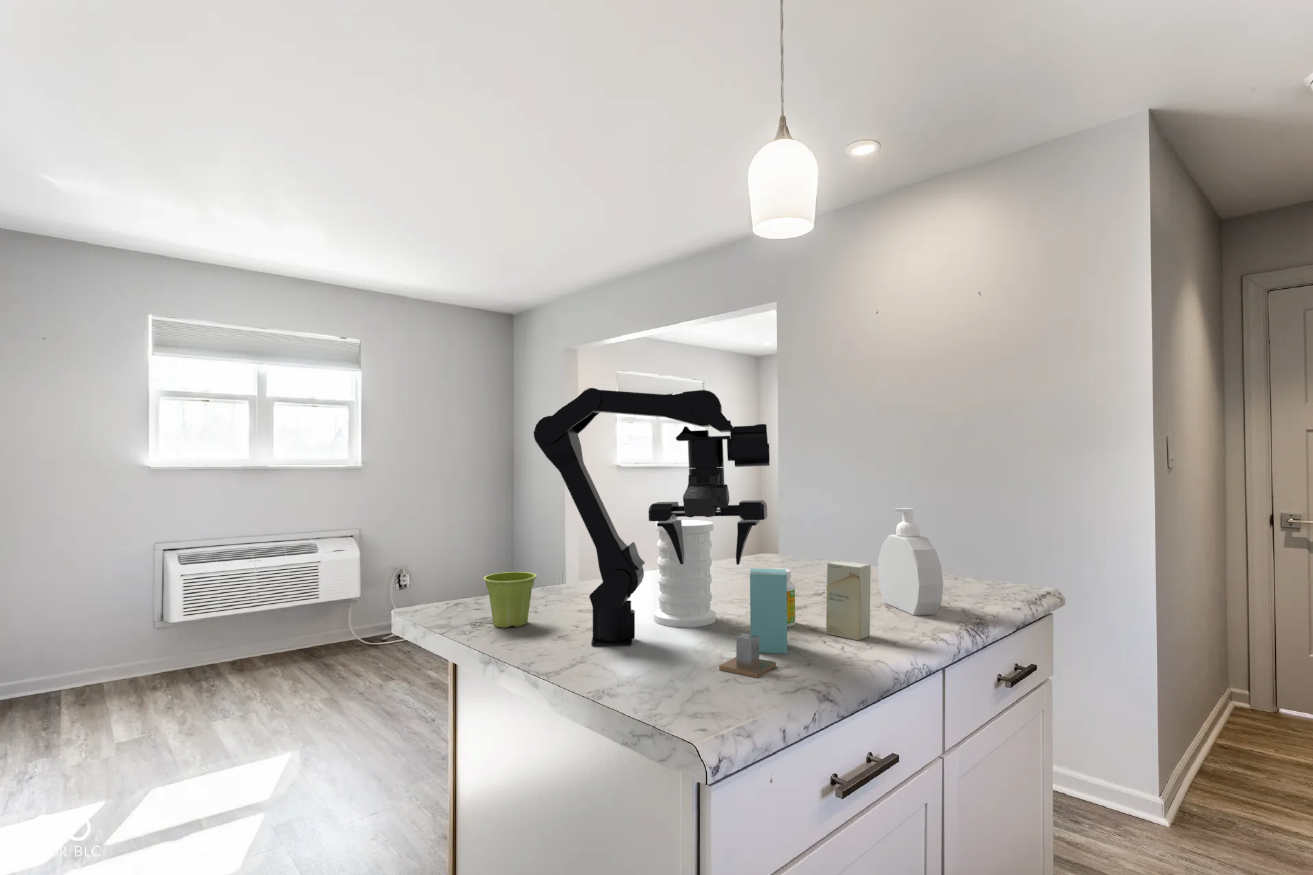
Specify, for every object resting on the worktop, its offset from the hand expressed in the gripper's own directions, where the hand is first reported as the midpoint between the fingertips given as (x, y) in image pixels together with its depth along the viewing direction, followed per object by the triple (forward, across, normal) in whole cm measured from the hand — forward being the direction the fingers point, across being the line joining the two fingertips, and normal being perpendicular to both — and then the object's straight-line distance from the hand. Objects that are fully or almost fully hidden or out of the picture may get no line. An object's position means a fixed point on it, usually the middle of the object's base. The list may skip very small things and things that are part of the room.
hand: (709, 564), depth 108 cm
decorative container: (+13, -8, +15) cm, 21 cm away
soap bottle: (+14, +33, +34) cm, 50 cm away
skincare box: (+14, +21, +11) cm, 28 cm away
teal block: (+13, +9, 0) cm, 16 cm away
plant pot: (+12, -38, +4) cm, 40 cm away
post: (+13, +7, -11) cm, 18 cm away
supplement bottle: (+14, +10, +16) cm, 23 cm away
